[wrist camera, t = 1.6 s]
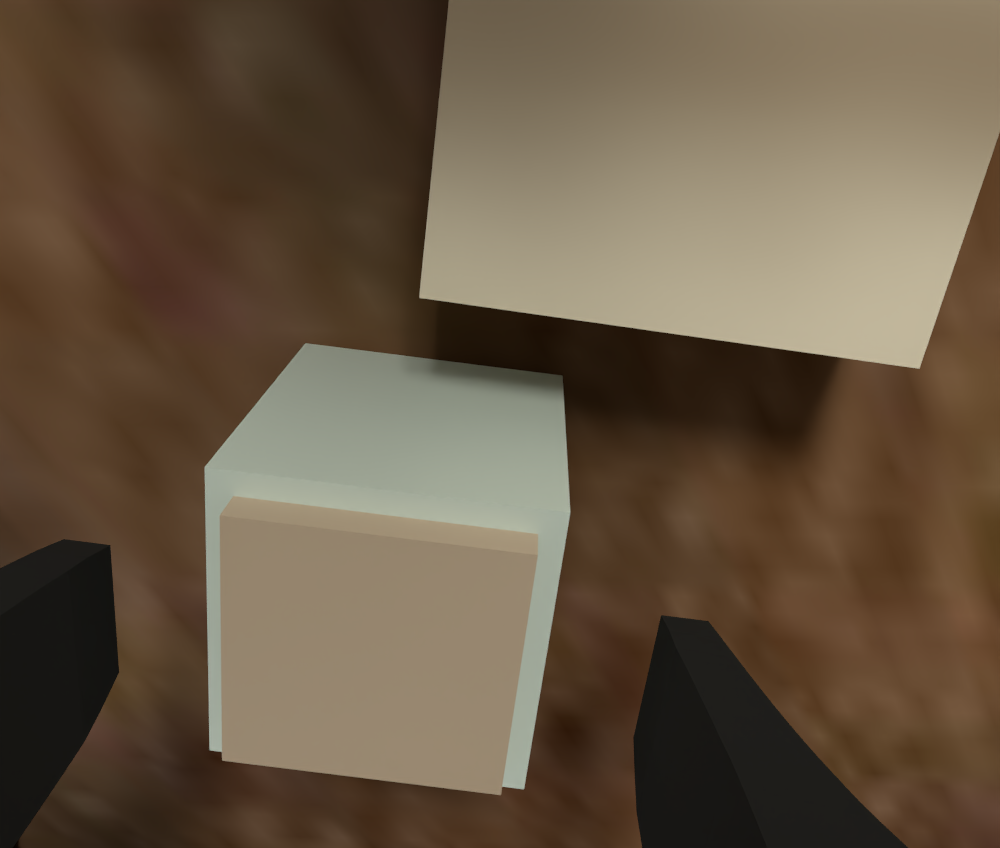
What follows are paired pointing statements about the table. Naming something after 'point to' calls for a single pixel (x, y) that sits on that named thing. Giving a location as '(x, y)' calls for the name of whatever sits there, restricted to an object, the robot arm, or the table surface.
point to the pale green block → (386, 569)
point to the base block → (714, 165)
